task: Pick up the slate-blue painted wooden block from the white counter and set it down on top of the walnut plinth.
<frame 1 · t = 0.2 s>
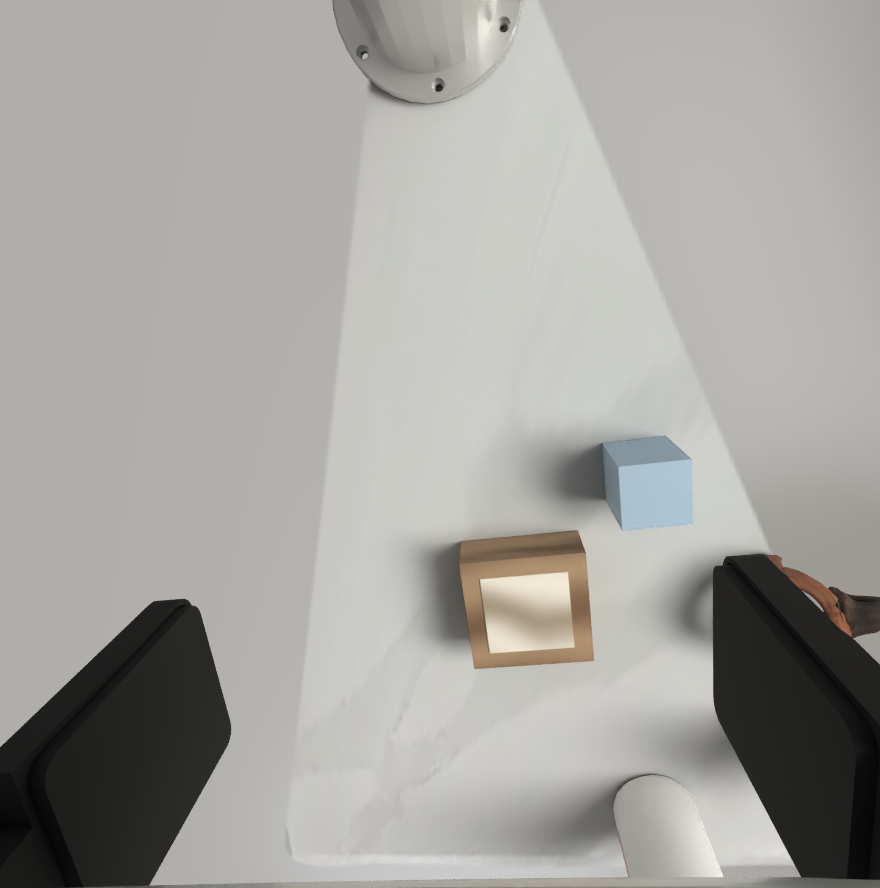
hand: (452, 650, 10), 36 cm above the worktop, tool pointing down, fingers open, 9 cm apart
brown segmented ring: (784, 596, 49), on the worktop
slate block: (635, 468, 46), on the worktop
milk bottle: (651, 801, 56), on the worktop
walnut plinth: (524, 587, 50), on the worktop
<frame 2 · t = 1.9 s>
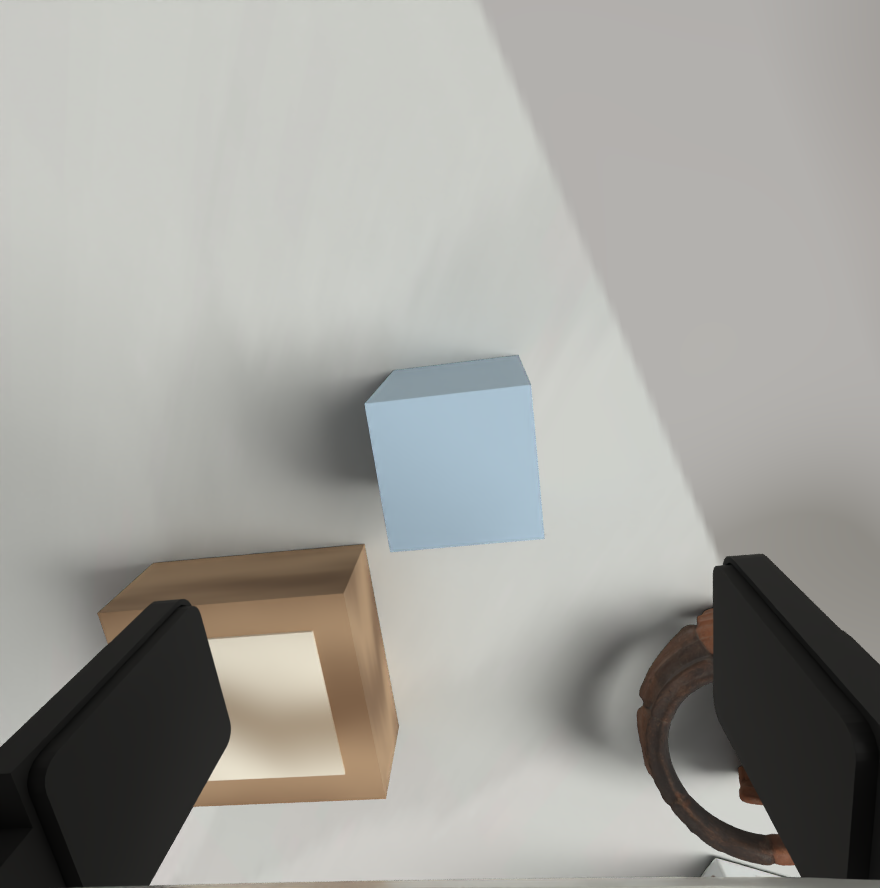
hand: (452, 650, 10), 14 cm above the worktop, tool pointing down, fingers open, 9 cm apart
brown segmented ring: (755, 679, 26), on the worktop
slate block: (463, 422, 23), on the worktop
walnut plinth: (280, 647, 27), on the worktop
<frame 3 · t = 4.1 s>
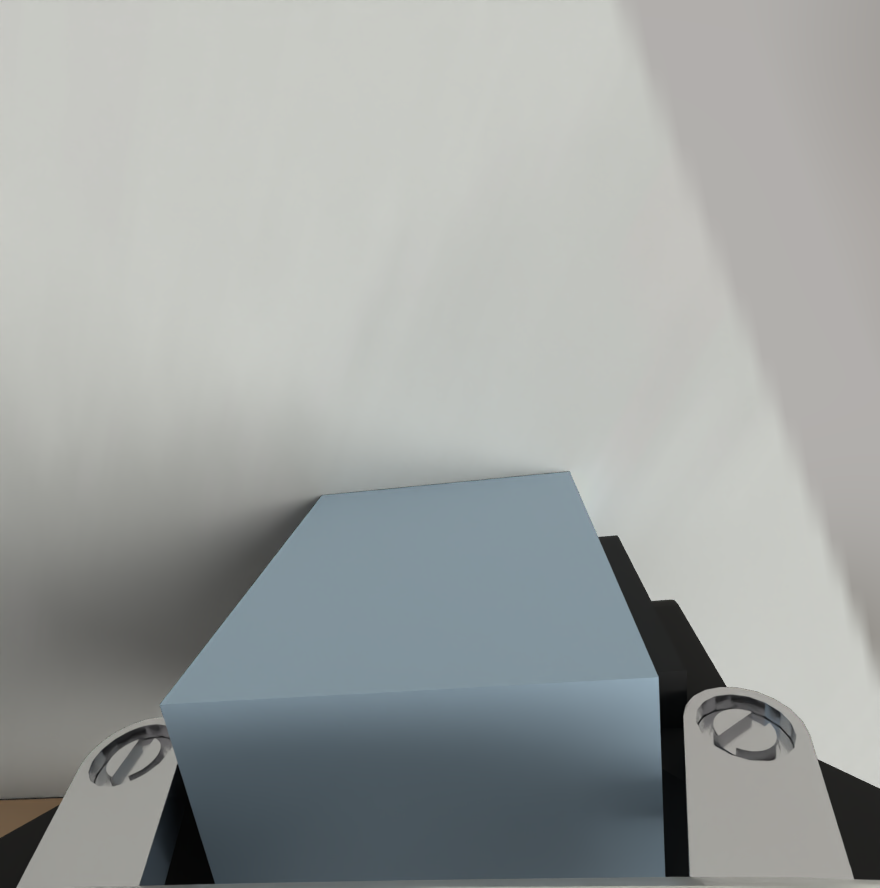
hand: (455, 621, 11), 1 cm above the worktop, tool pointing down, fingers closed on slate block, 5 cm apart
slate block: (457, 594, 12), on the worktop, touching gripper
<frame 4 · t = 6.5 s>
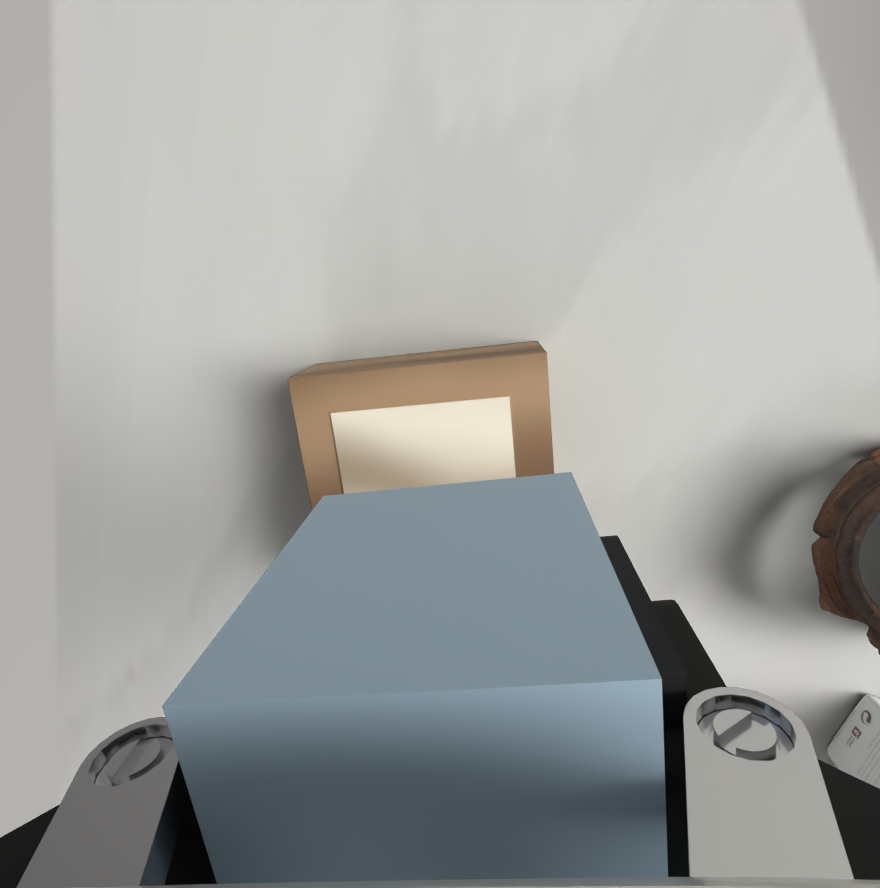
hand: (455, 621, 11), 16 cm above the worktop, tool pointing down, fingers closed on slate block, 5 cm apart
slate block: (459, 595, 12), point 15 cm above the worktop, touching gripper
walnut plinth: (437, 458, 27), on the worktop
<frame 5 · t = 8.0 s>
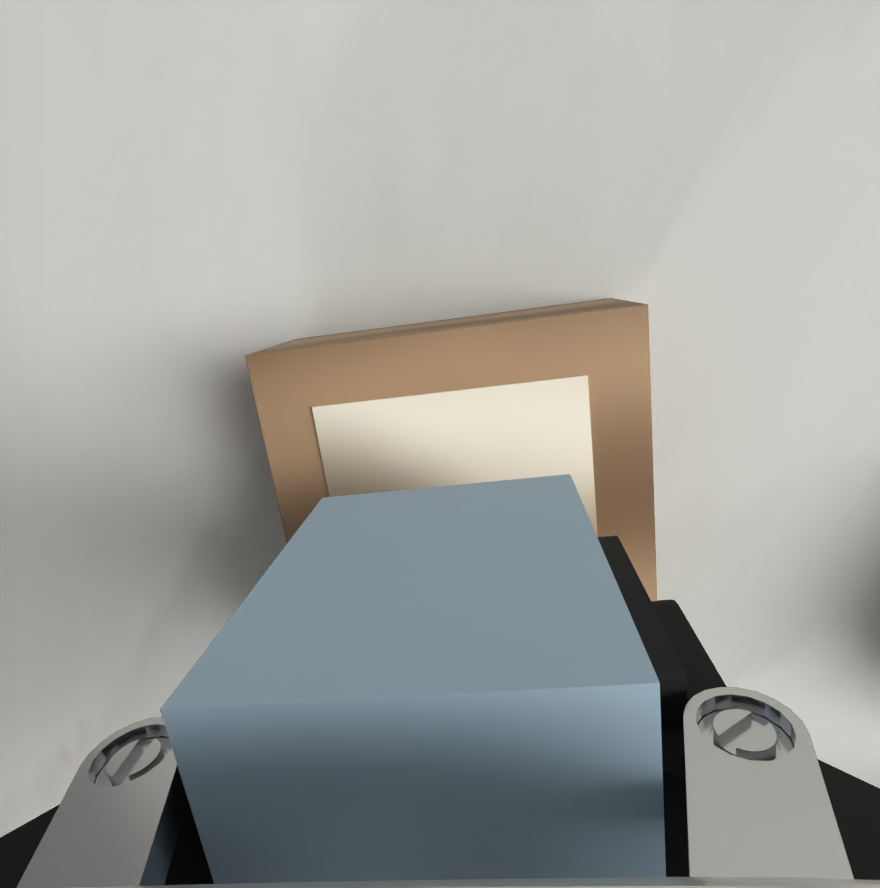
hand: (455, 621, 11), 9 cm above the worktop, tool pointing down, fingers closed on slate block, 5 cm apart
slate block: (458, 596, 12), point 8 cm above the worktop, touching gripper
walnut plinth: (467, 469, 19), on the worktop
when the fingers open (6 cm above the worktop, at t = 9.3 s): slate block stays where it is, resting on walnut plinth.
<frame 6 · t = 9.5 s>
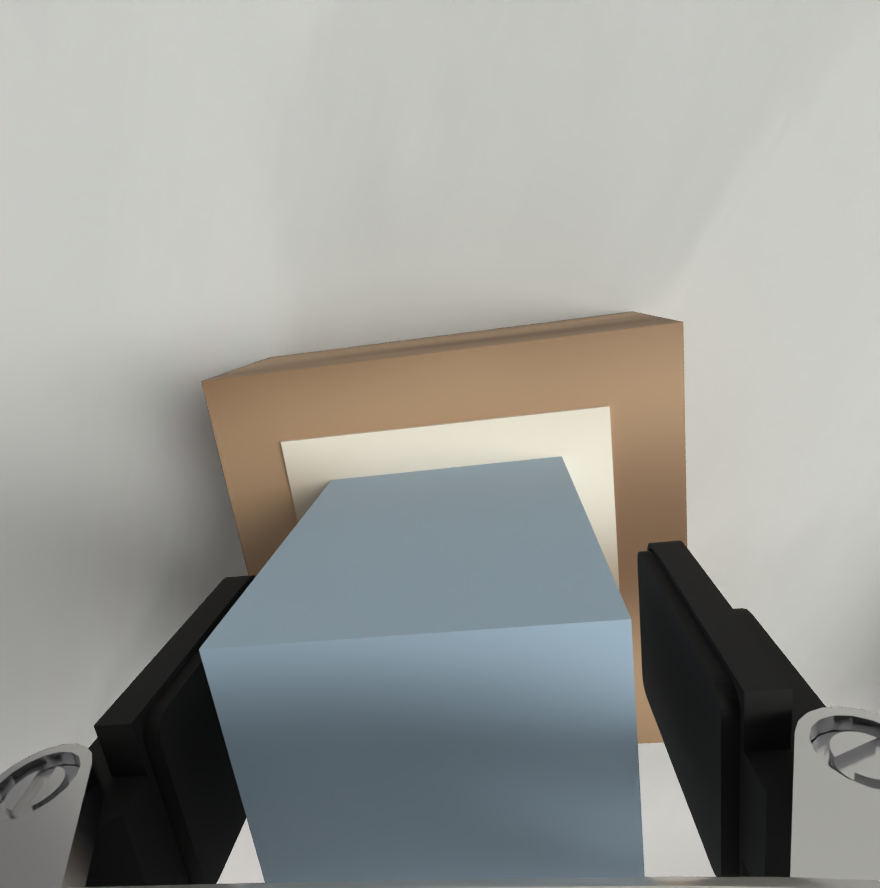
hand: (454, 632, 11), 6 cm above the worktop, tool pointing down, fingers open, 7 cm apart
slate block: (458, 572, 13), point 4 cm above the worktop, touching walnut plinth
walnut plinth: (466, 505, 17), on the worktop
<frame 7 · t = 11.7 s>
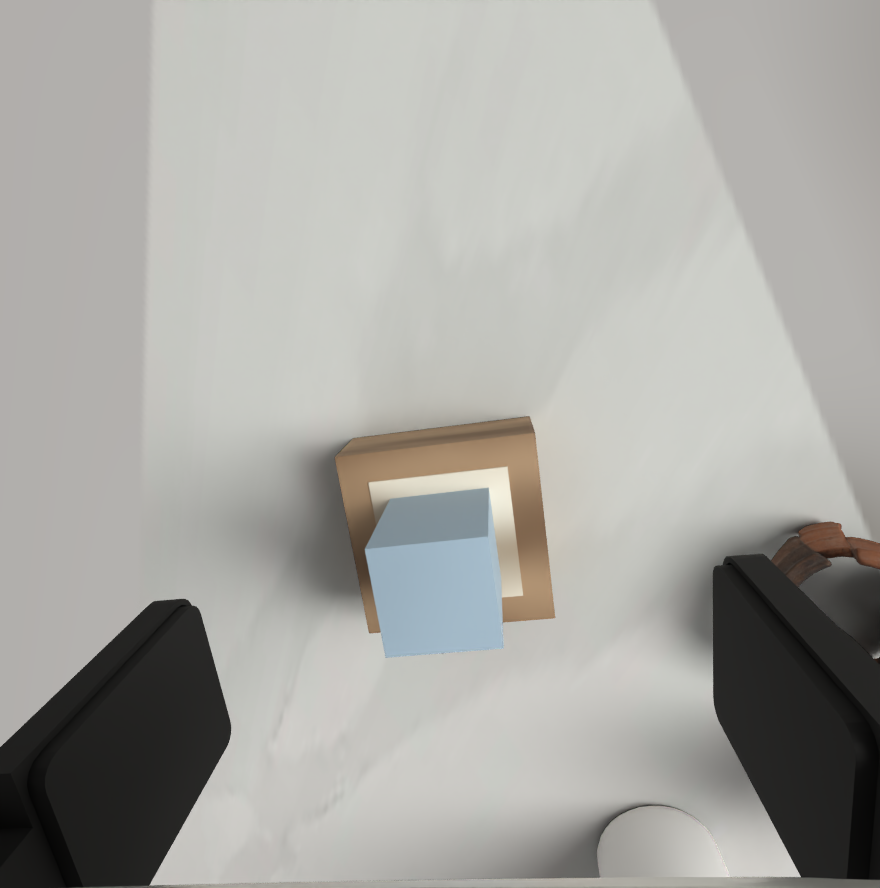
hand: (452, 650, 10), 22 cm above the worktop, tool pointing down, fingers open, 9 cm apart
brown segmented ring: (847, 586, 32), on the worktop
slate block: (446, 539, 29), point 4 cm above the worktop, touching walnut plinth
milk bottle: (653, 845, 38), on the worktop
walnut plinth: (452, 511, 33), on the worktop
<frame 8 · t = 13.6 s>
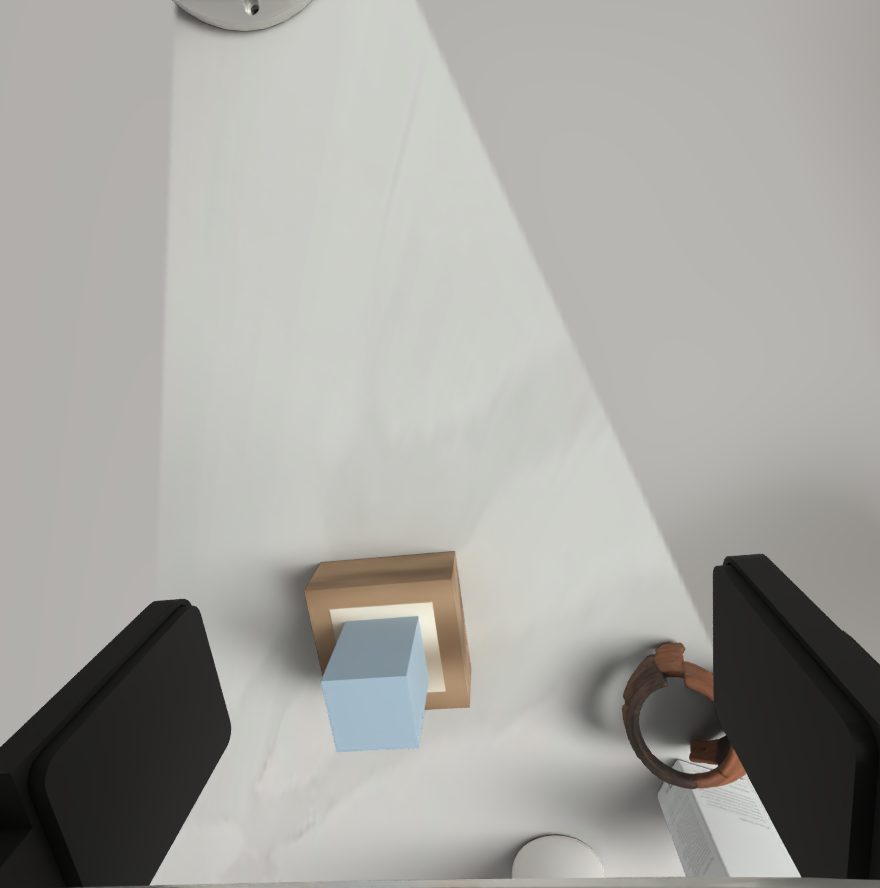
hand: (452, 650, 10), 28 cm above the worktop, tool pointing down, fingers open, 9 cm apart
brown segmented ring: (696, 685, 43), on the worktop
skincare box: (702, 784, 45), on the worktop
slate block: (387, 650, 39), point 4 cm above the worktop, touching walnut plinth
milk bottle: (556, 864, 48), on the worktop
walnut plinth: (397, 617, 43), on the worktop
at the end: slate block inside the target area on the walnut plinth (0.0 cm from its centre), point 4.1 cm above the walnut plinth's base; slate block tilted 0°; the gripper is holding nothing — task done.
